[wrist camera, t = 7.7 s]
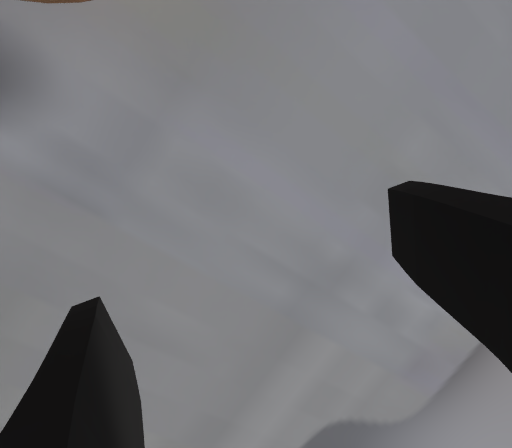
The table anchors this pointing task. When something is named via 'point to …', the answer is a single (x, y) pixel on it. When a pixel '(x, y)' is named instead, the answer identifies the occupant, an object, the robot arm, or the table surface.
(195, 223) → the table surface
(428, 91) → the table surface
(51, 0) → the lid
